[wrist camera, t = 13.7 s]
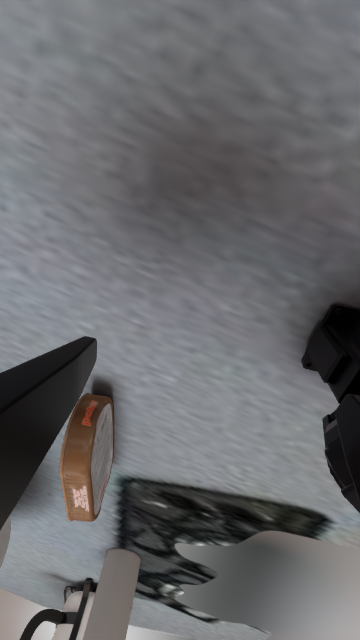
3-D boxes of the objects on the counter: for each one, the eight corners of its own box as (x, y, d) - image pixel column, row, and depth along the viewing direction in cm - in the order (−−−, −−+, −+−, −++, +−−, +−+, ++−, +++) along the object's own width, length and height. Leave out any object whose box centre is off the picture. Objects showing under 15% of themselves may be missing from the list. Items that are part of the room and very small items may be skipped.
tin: (90, 376, 28) (46, 447, 20) (119, 381, 28) (85, 454, 20) (96, 460, 35) (65, 534, 28) (118, 464, 35) (93, 540, 28)
